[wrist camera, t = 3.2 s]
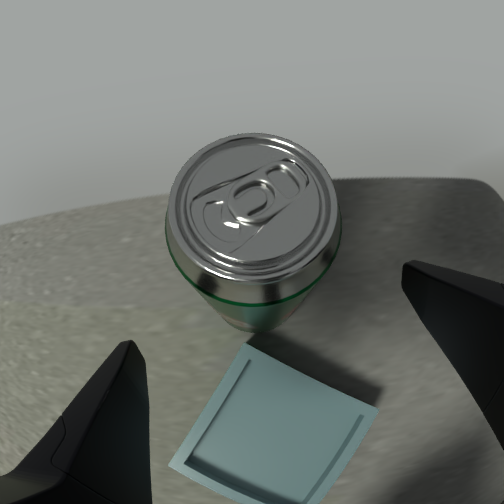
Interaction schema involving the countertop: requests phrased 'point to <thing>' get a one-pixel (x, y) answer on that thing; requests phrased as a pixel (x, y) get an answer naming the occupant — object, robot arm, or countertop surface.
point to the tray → (272, 434)
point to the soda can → (253, 227)
